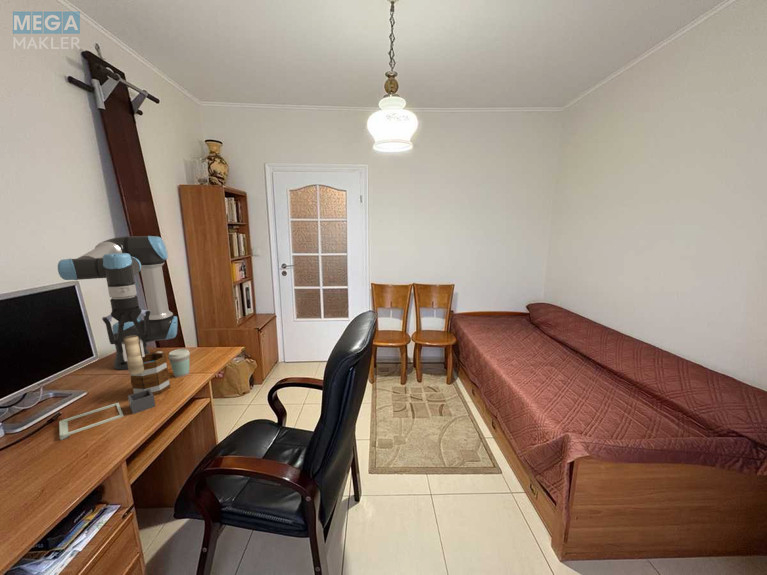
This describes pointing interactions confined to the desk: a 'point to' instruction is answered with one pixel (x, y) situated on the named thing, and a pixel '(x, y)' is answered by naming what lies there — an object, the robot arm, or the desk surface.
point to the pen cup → (141, 401)
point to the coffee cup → (179, 362)
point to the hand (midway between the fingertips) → (134, 357)
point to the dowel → (133, 354)
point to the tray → (64, 425)
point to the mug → (152, 374)
